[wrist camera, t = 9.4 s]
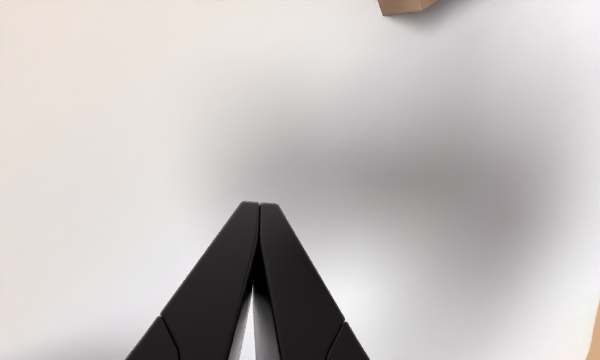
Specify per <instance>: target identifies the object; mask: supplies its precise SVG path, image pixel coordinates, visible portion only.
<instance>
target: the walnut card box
mask: <svg viewBox="0 0 600 360" xmlns="http://www.w3.org/2000/svg"><path fill="white" fill-rule="evenodd" d="M437 1H438V0H378V2H379V5H380V8H381V12H382V15H383V16H385V15H392V14H400V13H407V12H415V11H422V10H424V9H426V8H427V7H429V6H430V5H432V4H433V3H435V2H437Z"/></svg>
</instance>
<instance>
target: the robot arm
mask: <svg viewBox="0 0 600 360" xmlns="http://www.w3.org/2000/svg"><path fill="white" fill-rule="evenodd" d="M252 288H253V317H254V335H255V353H256V360H370V359H369V357H368V356H367V354H366V352H365V351H364V349H363V348H362V346H361V344H360V343H359V341H358V340H357V338H356V336H355V334H354V333H353V331H352V329H351V328H350V326H349V324H348V323H347V322H344V321H345V318H344V316H343V314H342V313H341V311H340V309H339V307H338V306H337V304H336V302H335V301H334V299H333V297H332V295H331V294H330V292H329V290H328V289H327V287H326V285H325V284H324V282H323V280H322V278H321V277H320V275H319V273H318V272H317V270H316V268H315V267H314V265H313V263H312V261H311V260H310V258H309V256H308V255H307V253H306V251H305V250H304V248H303V246H302V244H301V243H300V241H299V239H298V238H297V236H296V234H295V232H294V231H293V229H292V227H291V226H290V224H289V222H288V221H287V219H286V217H285V215H284V214H283V212H282V210H281V209H280V207H279V205H277V204H275V203H261V204H259V203H258V202H249V201H243V202H241V203H240V205H239V206H238V207H237V209H236V210H235V211H234V213H233V214H232V216H231V217H230V218H229V220H228V221H227V222H226V224H225V225H224V227H223V228H222V229H221V231H220V232H219V233H218V235H217V236H216V238H215V239H214V240H213V242H212V243H211V244H210V246H209V247H208V248H207V250H206V251H205V253H204V254H203V255H202V257H201V258H200V259H199V261H198V262H197V264H196V265H195V266H194V268H193V269H192V270H191V272H190V273H189V275H188V276H187V277H186V279H185V280H184V281H183V283H182V284H181V285H180V287H179V288H178V290H177V291H176V292H175V294H174V295H173V296H172V298H171V299H170V301H169V302H168V303H167V305H166V306H165V307H164V309H163V310H162V311H161V313H160V316H158V317H157V318H156V319H155V321H154V322H153V323H152V325H151V326H150V328H149V329H148V330H147V332H146V333H145V334H144V336H143V337H142V338H141V340H140V341H139V342H138V343H137V345H136V346H135V347H134V349H133V350H132V351H131V352H130V354H129V355H128V356H127V358H126V359H125V360H239V357H240V352H241V347H242V342H243V337H244V332H245V327H246V322H247V317H248V312H249V307H250V302H251V296H252Z"/></svg>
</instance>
